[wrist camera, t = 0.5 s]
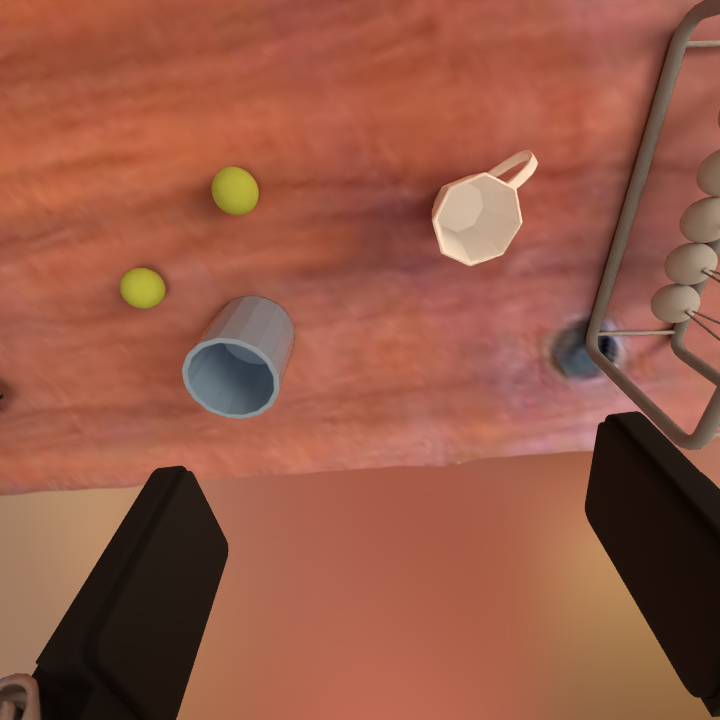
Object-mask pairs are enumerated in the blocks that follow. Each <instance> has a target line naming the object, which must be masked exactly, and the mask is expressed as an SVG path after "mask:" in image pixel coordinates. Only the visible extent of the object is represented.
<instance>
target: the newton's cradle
mask: <svg viewBox="0 0 720 720" xmlns="http://www.w3.org/2000/svg"><path fill="white" fill-rule="evenodd" d="M718 14H720V0H704V1H702V2H700V3H699V4H697V5H695V6H694V7H693V8H692V9H691V10H690V11H689V12H688V13H687V14H686V15H685V17H684V18H683V20H682V21H681V22H680V24H679V26H678V27H677V29H676V31H675V33H674V35H673V38H672V41H671V44H670V46H669V50H668V53H667V57H666V60H665V64H664V67H663V71H662V74H661V78H660V81H659V85H658V88H657V92H656V95H655V99H654V102H653V105H652V109H651V112H650V116H649V119H648V123H647V126H646V130H645V133H644V137H643V140H642V144H641V147H640V151H639V154H638V157H637V161H636V164H635V168H634V171H633V175H632V178H631V182H630V185H629V189H628V192H627V196H626V199H625V203H624V206H623V210H622V213H621V216H620V220H619V223H618V227H617V230H616V234H615V237H614V241H613V244H612V248H611V251H610V255H609V258H608V262H607V265H606V268H605V272H604V275H603V279H602V282H601V286H600V289H599V293H598V296H597V300H596V303H595V307H594V310H593V314H592V317H591V321H590V324H589V327H588V331H587V335H586V349H587V352H588V355H589V356H590V358H591V359H592V360H593V361H594V362H595V363H596V364H597V365H598V366H599V367H600V368H601V369H602V370H603V371H604V372H605V373H606V374H607V375H608V377H609V378H610V379H611V380H612V381H613V382H614V383H615V384H616V385H617V386H618V387H619V388H620V389H621V390H622V391H623V392H624V393H625V394H626V395H627V396H628V397H629V398H630V399H631V400H632V401H633V402H634V403H635V404H636V405H637V406H638V407H639V408H640V409H641V410H642V411H643V412H644V413H645V414H646V415H647V416H648V417H649V418H650V419H651V420H652V421H653V422H654V423H655V424H656V425H657V426H658V427H659V428H660V429H661V430H662V431H663V432H664V433H665V434H666V435H667V436H668V438H669V439H670V440H671V441H673V442H674V443H675V444H676V445H678V446H679V447H682V448H685V449H688V450H697V449H701V448H703V447H705V446H706V445H708V444H709V443H710V441H711V440H712V439H713V437H720V432H717V430H718V428H719V426H720V372H718V371H717V370H716V369H714V368H713V367H711V366H710V365H708V364H707V363H705V362H704V361H702V360H701V359H700V358H698V357H697V356H695V355H694V354H692V353H691V352H689V351H688V350H687V349H686V348H685V346H684V334H685V332H686V329H687V327H688V325H689V322H690V320H691V318H692V319H693V320H694V321H696V322H697V323H698V324H699V325H701V326H702V327H703V328H704V329H706V330H707V331H708V332H709V333H710V334H712V335H713V336H714V337H715V338H717V339H718V340H719V341H720V338H719V337H718V336H717V335H715V334H714V333H713V332H712V331H710V330H709V329H708V328H706V327H705V326H704V325H703V324H701V323H700V322H699V321H698V320H696V319H695V318H694V317H693V315H694V314H697V315H700V316H702V317H704V318H707V319H709V320H711V321H713V322H716V323H718V324H720V322H718V321H716V320H714V319H711V318H709V317H707V316H705V315H702V314H700V313H698V312H697V311H698V309H699V306H700V297H701V294H702V292H703V289H704V287H705V285H706V282H707V280H708V278H709V277H711V278H713V279H714V280H716V281H718V282H719V283H720V280H719V279H717V278H715V277H713V276H712V273H715V274H719V275H720V273H719V272H716V271H715V269H716V266H717V261H718V260H717V257H718V254H719V252H720V197H709V198H704V199H701V200H699V201H697V202H695V203H693V204H692V205H690V206H689V207H688V208H687V209H686V210H685V212H684V213H683V215H682V217H681V220H680V230H681V232H682V234H683V235H684V236H685V237H686V238H687V239H689V240H690V241H693V242H697V243H688V244H684V245H681V246H679V247H677V248H676V249H674V250H673V251H672V252H671V253H670V254H669V255H668V257H667V259H666V261H665V265H664V268H665V273H666V275H667V276H668V278H669V279H670V280H672V281H673V282H675V283H678V284H670V285H667V286H664V287H662V288H661V289H659V290H658V291H657V292H656V293H655V294H654V296H653V297H652V300H651V310H652V312H653V314H654V315H655V316H656V317H657V318H658V319H660V320H662V321H664V322H668V323H675V326H674V328H673V331H631V332H599V331H600V328H601V325H602V321H603V318H604V315H605V312H606V308H607V305H608V302H609V298H610V295H611V292H612V289H613V285H614V282H615V279H616V276H617V272H618V269H619V266H620V262H621V259H622V256H623V253H624V249H625V246H626V243H627V239H628V236H629V233H630V230H631V226H632V223H633V220H634V217H635V213H636V210H637V207H638V203H639V200H640V197H641V194H642V190H643V187H644V184H645V181H646V177H647V174H648V171H649V167H650V164H651V161H652V158H653V154H654V151H655V148H656V144H657V141H658V138H659V135H660V131H661V128H662V125H663V122H664V118H665V115H666V112H667V108H668V105H669V102H670V99H671V95H672V92H673V89H674V85H675V82H676V79H677V76H678V72H679V69H680V66H681V63H682V59H683V56H684V53H685V49H686V48H689V47H720V40H712V41H688V40H689V38H690V36H691V34H692V32H693V30H694V28H695V27H696V26H697V24H698V23H699V22H700V21H701V20H703V19H705V18H708V17H711V16H715V15H718ZM718 125H719V127H720V112H719V115H718ZM697 183H698V186H699V188H700V189H701V190H702V191H703V192H705V193H706V194H709V195H712V196H720V149H719V150H717V151H715V152H714V153H712V154H711V155H710V156H708V157H707V158H706V159H705V160H704V161H703V163H702V164H701V166H700V167H699V170H698V173H697ZM707 242H708V244H707V245H705V244H701V243H707ZM688 285H691V286H688ZM658 334H671V347H672V350H673V352H674V353H675V355H676V356H677V357H678V358H679V359H681V360H682V361H683V362H685V363H686V364H688V365H689V366H690V367H692V368H693V369H694V370H696V371H697V372H698V373H700V374H701V375H703V376H704V377H705V378H707V379H708V380H709V381H711V382H712V383H713V384H715V385H716V386H717V388H716V390H715V392H714V394H713V396H712V398H711V400H710V402H709V404H708V406H707V407H706V409H705V411H704V413H703V415H702V417H701V419H700V421H699V423H698V425H697V427H696V429H695V431H694V432H693V434H691V435H688V434H686V433H685V432H684V431H683V430H682V429H681V428H680V427H678V426H677V425H676V424H675V423H674V422H673V421H672V420H671V419H670V418H669V417H668V416H667V415H666V414H665V413H664V412H663V411H662V410H661V409H660V408H658V407H657V406H656V405H655V404H654V403H653V402H652V401H651V400H650V399H649V398H648V397H647V396H646V395H645V394H644V393H643V392H642V391H641V390H640V389H638V388H637V387H636V386H635V385H634V384H633V383H632V382H631V381H630V380H629V379H628V378H627V377H626V376H625V375H624V374H623V373H622V372H621V371H620V370H618V369H617V368H616V367H615V366H614V365H613V364H612V363H611V362H610V361H609V360H608V359H607V358H606V357H605V356H604V355H603V354H602V353H601V352H600V351H599V348H598V344H597V339H598V336H610V335H658Z"/></svg>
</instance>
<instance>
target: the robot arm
mask: <svg viewBox="0 0 720 720" xmlns="http://www.w3.org/2000/svg"><path fill="white" fill-rule="evenodd" d="M585 512H586V516H587V519H588V521H589V523H590V525H591V526H592V528H593V530H594V532H595V533H596V535H597V537H598V538H599V540H600V542H601V544H602V545H603V547H604V549H605V551H606V552H607V554H608V556H609V557H610V559H611V561H612V562H613V564H614V566H615V567H616V570H617V571H618V573H619V574H620V576H621V578H622V580H623V582H624V583H625V585H626V587H627V588H628V590H629V592H630V594H631V595H632V597H633V598H634V600H635V602H636V604H637V606H638V607H639V609H640V611H641V613H642V614H643V616H644V618H645V619H646V621H647V623H648V625H649V626H650V628H651V630H652V631H653V633H654V635H655V637H656V638H657V640H658V642H659V643H660V645H661V647H662V649H663V650H664V652H665V654H666V656H667V657H668V659H669V661H670V662H671V664H672V666H673V668H674V669H675V671H676V673H677V674H678V676H679V678H680V680H681V681H682V683H683V684H684V686H685V688H686V689H687V690H688V691H689V692H690V694H692V695H693V696H694V697H698V698H699V697H700V698H701V699H702V701H703V703H704V704H705V706H706V708H707V710H708V711H709V713H710V714H711V716H712V717H718V716H720V489H719V488H718V487H717V486H716V485H715V484H714V483H713V482H712V481H711V480H710V479H709V478H708V477H707V476H705V475H704V474H703V473H702V472H700V471H699V470H698V469H697V468H696V467H695V466H694V465H693V464H692V463H691V462H690V461H689V460H688V459H687V458H686V457H685V456H684V455H683V454H682V453H681V452H680V451H679V450H678V449H677V448H676V447H675V446H674V445H673V444H672V443H671V442H670V441H669V440H668V439H667V438H666V437H665V436H664V435H663V434H662V433H661V432H660V431H659V430H658V429H657V428H656V427H655V426H654V425H653V424H652V423H651V422H650V421H649V420H648V419H647V418H646V417H645V416H644V415H643V414H642V413H640V412H637V411H635V412H627V413H618V414H611V415H608V416H607V417H606V419H605V422H601V423H600V424H599V425H598V429H597V435H596V441H595V447H594V453H593V459H592V465H591V471H590V477H589V483H588V489H587V495H586V501H585ZM227 557H228V543H227V540H226V538H225V536H224V534H223V532H222V530H221V528H220V526H219V524H218V522H217V520H216V518H215V516H214V514H213V512H212V510H211V508H210V506H209V504H208V502H207V500H206V498H205V496H204V494H203V492H202V490H201V488H200V486H199V484H198V482H197V480H196V478H195V476H194V474H193V473H192V472H191V471H187V470H186V468H185V467H183V466H173V467H165V468H158V469H156V470H154V472H153V473H152V474H151V476H150V477H149V479H148V481H147V482H146V484H145V486H144V487H143V489H142V490H141V492H140V494H139V495H138V497H137V499H136V500H135V502H134V504H133V505H132V507H131V508H130V510H129V512H128V513H127V515H126V516H125V518H124V520H123V521H122V523H121V525H120V526H119V528H118V529H117V531H116V533H115V534H114V536H113V537H112V539H111V541H110V542H109V544H108V546H107V547H106V549H105V550H104V552H103V554H102V555H101V557H100V559H99V560H98V562H97V563H96V565H95V567H94V568H93V570H92V572H91V573H90V575H89V577H88V578H87V580H86V581H85V583H84V585H83V586H82V588H81V590H80V591H79V593H78V594H77V596H76V598H75V599H74V601H73V602H72V604H71V606H70V608H69V609H68V611H67V612H66V614H65V615H64V617H63V619H62V620H61V622H60V624H59V625H58V627H57V628H56V630H55V632H54V633H53V635H52V636H51V638H50V640H49V642H48V643H47V645H46V646H45V648H44V649H43V651H42V653H41V654H40V656H39V658H38V659H37V661H36V664H38V666H37V668H36V670H35V671H34V673H33V675H32V676H30V675H29V674H14V675H10V676H7V677H4V678H2V679H0V720H176V718H177V715H178V712H179V709H180V706H181V703H182V699H183V696H184V693H185V690H186V686H187V683H188V681H189V677H190V674H191V671H192V668H193V665H194V661H195V658H196V655H197V652H198V649H199V646H200V643H201V640H202V636H203V633H204V630H205V627H206V623H207V621H208V617H209V614H210V611H211V608H212V605H213V601H214V598H215V595H216V592H217V589H218V586H219V583H220V580H221V576H222V573H223V570H224V567H225V564H226V561H227Z"/></svg>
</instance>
